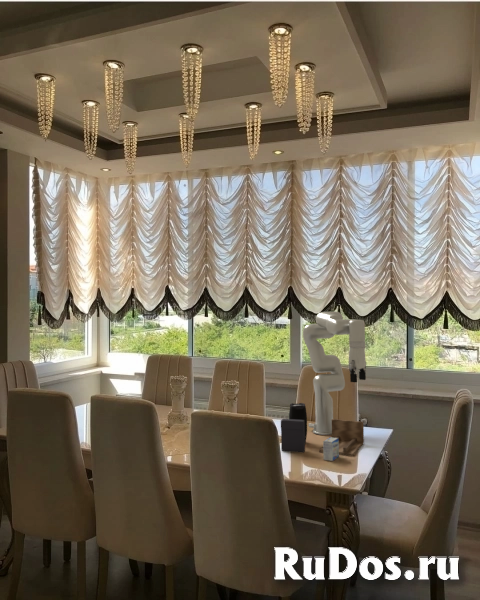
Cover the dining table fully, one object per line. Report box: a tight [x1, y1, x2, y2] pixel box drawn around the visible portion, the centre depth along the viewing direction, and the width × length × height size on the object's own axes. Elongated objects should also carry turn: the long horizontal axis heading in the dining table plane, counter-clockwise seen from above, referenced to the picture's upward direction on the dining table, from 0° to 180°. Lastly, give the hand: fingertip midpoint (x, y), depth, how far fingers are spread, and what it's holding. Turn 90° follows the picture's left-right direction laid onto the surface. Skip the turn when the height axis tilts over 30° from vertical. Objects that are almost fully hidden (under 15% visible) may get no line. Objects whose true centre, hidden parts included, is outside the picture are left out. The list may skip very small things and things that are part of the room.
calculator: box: [280, 418, 306, 454], centre depth 255 cm, size 11×4×15 cm, turn 71°
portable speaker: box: [288, 402, 308, 444], centre depth 270 cm, size 9×9×20 cm
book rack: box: [318, 418, 365, 457], centre depth 259 cm, size 16×22×11 cm
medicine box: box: [322, 436, 340, 462], centre depth 243 cm, size 8×4×9 cm, turn 148°
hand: (358, 380), depth 256 cm, fingers open, 9 cm apart
